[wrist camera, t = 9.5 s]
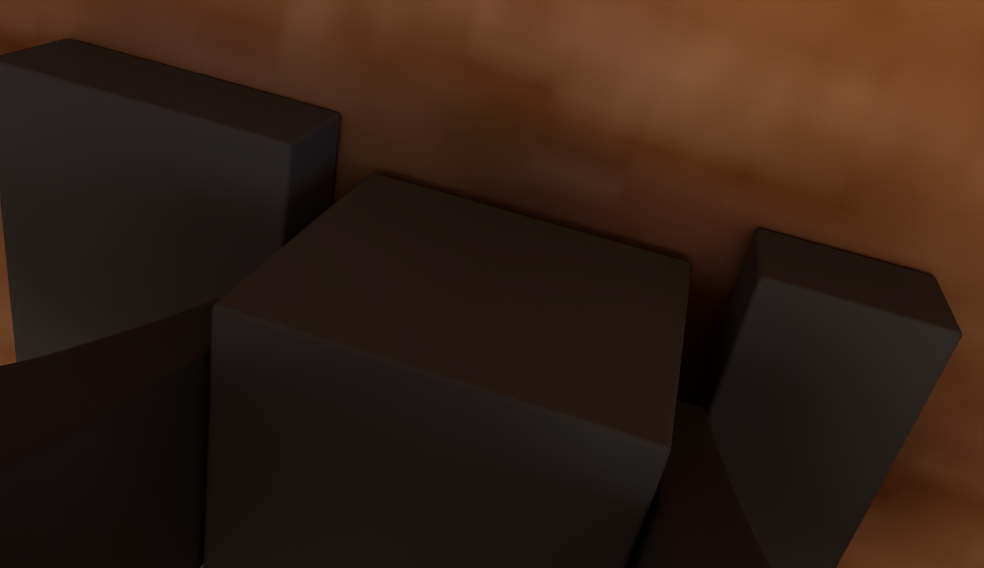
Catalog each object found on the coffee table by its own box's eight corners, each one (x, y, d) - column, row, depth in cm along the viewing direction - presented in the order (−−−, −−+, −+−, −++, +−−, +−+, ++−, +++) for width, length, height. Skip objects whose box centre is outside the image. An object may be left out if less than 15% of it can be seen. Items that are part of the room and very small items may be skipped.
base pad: (97, 611, 18) (46, 670, 16) (66, 36, 12) (-17, 57, 11) (659, 823, 16) (653, 907, 15) (936, 274, 10) (965, 333, 9)
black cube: (338, 426, 13) (199, 620, 10) (371, 170, 11) (209, 304, 8) (606, 514, 13) (557, 754, 9) (692, 261, 11) (672, 450, 7)
